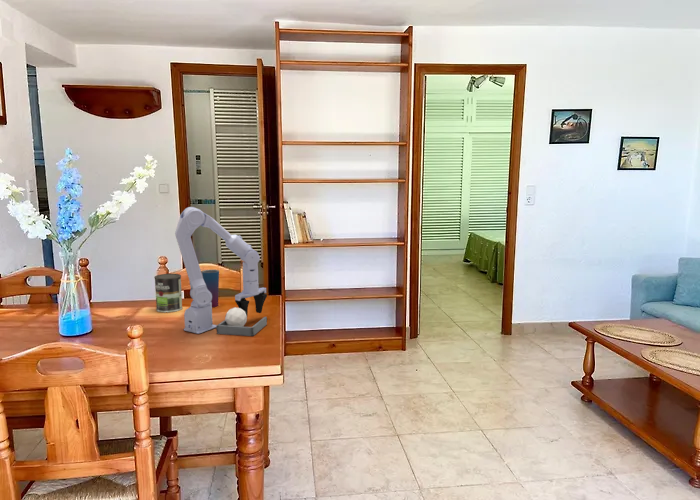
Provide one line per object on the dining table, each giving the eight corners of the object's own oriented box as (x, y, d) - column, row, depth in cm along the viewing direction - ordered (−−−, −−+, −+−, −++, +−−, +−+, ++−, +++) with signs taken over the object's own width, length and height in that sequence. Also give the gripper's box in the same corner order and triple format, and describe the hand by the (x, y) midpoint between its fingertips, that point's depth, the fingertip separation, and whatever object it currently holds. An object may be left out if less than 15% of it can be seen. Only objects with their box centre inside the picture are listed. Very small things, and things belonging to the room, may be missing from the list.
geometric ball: (239, 333, 186) (248, 313, 189) (243, 331, 179) (252, 310, 182) (220, 325, 185) (229, 305, 187) (223, 323, 177) (232, 302, 180)
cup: (217, 307, 211) (216, 272, 208) (201, 307, 211) (200, 272, 208) (222, 303, 217) (220, 269, 215) (206, 303, 217) (205, 269, 215)
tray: (253, 336, 175) (252, 327, 175) (216, 333, 178) (216, 325, 177) (266, 324, 188) (266, 316, 188) (232, 322, 191) (232, 314, 190)
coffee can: (172, 313, 202) (170, 279, 200) (151, 311, 205) (148, 277, 203) (187, 307, 212) (186, 274, 210) (167, 305, 215) (165, 272, 213)
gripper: (256, 275, 197) (257, 308, 199) (228, 282, 185) (230, 317, 187) (269, 277, 193) (270, 311, 195) (242, 284, 181) (243, 321, 184)
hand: (251, 315), depth 191 cm, fingers open, 7 cm apart
